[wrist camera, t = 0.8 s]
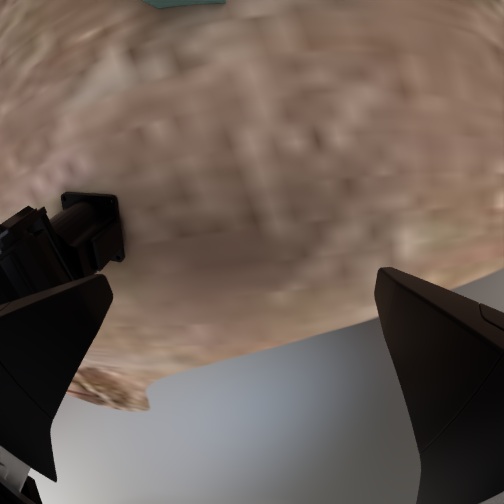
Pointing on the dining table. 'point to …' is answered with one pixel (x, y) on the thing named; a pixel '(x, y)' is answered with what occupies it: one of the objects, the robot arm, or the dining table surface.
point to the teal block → (179, 2)
